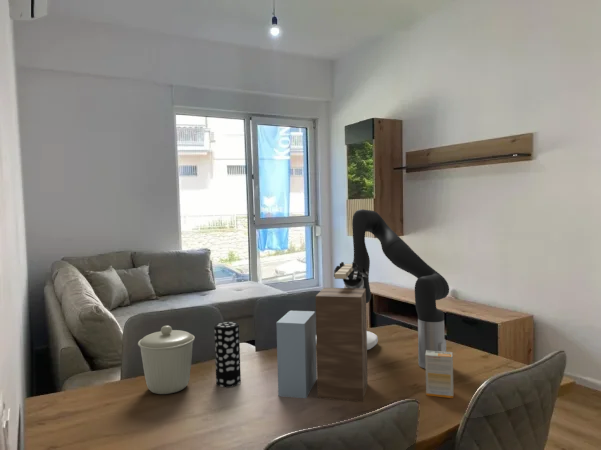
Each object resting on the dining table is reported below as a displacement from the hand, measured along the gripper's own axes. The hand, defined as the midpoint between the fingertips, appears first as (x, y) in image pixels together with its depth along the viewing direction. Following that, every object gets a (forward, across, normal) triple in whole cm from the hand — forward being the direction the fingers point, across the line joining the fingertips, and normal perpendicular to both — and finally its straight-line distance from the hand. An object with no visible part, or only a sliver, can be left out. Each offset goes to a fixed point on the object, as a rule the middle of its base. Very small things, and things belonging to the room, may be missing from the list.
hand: (347, 264), depth 164 cm
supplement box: (-4, +31, +42) cm, 52 cm away
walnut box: (-2, +1, +43) cm, 43 cm away
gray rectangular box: (-1, -14, +43) cm, 45 cm away
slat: (+4, 0, +5) cm, 6 cm away
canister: (+6, -57, +48) cm, 74 cm away
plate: (-41, -5, +21) cm, 47 cm away
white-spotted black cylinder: (-1, -39, +44) cm, 58 cm away
